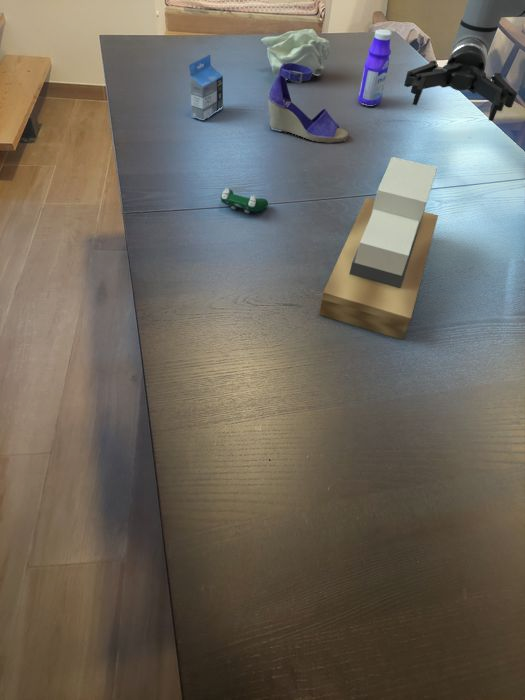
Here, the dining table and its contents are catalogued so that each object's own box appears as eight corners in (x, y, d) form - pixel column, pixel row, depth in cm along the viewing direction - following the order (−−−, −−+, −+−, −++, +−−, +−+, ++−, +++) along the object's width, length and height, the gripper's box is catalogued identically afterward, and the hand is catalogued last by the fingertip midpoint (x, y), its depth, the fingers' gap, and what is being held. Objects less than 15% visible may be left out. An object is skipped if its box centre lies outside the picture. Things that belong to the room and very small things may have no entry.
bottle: (372, 110, 137) (388, 38, 123) (353, 104, 138) (367, 32, 125) (383, 101, 141) (400, 30, 128) (365, 95, 143) (379, 25, 130)
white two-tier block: (421, 216, 96) (438, 167, 88) (400, 288, 82) (418, 237, 74) (377, 205, 97) (390, 156, 90) (349, 274, 83) (361, 222, 76)
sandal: (342, 149, 121) (354, 83, 110) (263, 132, 125) (267, 66, 113) (349, 134, 127) (361, 69, 115) (273, 118, 130) (278, 54, 119)
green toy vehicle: (223, 208, 105) (214, 200, 100) (228, 190, 105) (219, 181, 99) (264, 219, 104) (257, 212, 98) (270, 201, 103) (263, 193, 97)
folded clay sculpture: (277, 104, 151) (258, 57, 138) (278, 75, 157) (259, 28, 144) (337, 85, 145) (322, 34, 132) (335, 56, 150) (321, 4, 138)
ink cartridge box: (204, 122, 126) (202, 69, 117) (191, 118, 127) (188, 65, 118) (223, 109, 132) (223, 57, 122) (210, 105, 133) (209, 54, 123)
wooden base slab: (430, 236, 100) (438, 215, 96) (402, 340, 81) (411, 318, 77) (361, 218, 103) (366, 196, 99) (318, 314, 84) (323, 292, 80)
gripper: (520, 96, 104) (517, 140, 91) (400, 73, 109) (380, 111, 96) (537, 56, 99) (537, 97, 85) (410, 33, 104) (390, 68, 90)
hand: (454, 105), depth 90 cm, fingers open, 13 cm apart
